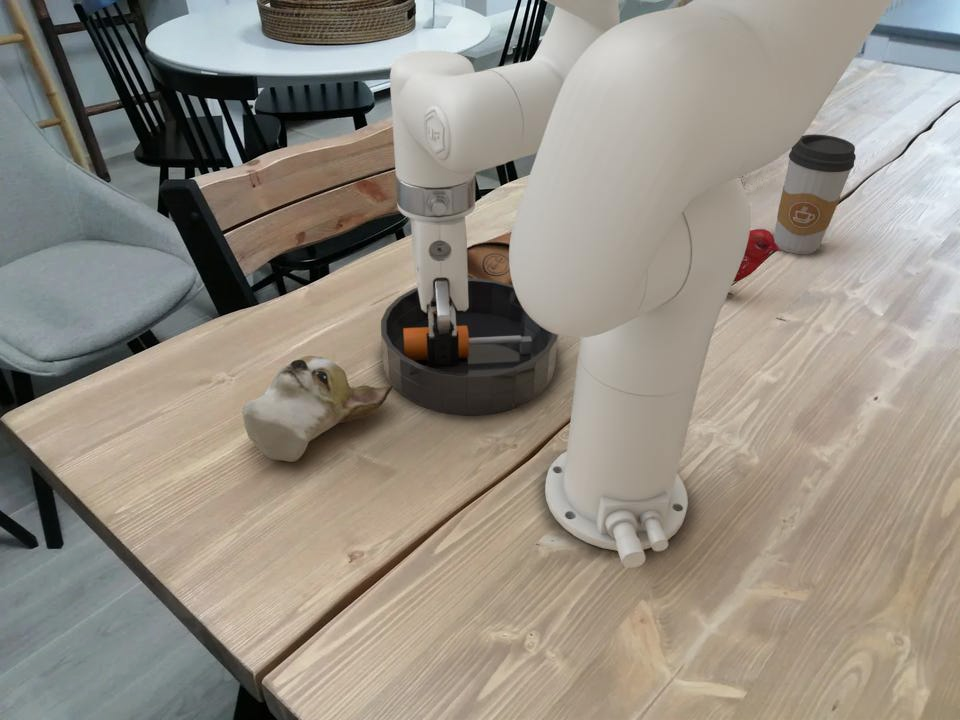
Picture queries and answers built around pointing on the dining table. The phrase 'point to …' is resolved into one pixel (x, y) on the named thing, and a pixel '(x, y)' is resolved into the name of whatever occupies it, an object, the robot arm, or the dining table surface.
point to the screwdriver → (418, 342)
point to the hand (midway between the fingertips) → (440, 339)
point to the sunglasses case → (490, 259)
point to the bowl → (471, 354)
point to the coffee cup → (812, 191)
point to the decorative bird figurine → (756, 252)
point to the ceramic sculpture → (306, 406)
